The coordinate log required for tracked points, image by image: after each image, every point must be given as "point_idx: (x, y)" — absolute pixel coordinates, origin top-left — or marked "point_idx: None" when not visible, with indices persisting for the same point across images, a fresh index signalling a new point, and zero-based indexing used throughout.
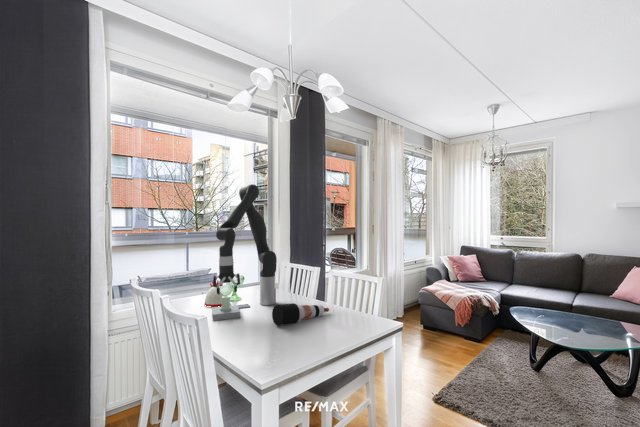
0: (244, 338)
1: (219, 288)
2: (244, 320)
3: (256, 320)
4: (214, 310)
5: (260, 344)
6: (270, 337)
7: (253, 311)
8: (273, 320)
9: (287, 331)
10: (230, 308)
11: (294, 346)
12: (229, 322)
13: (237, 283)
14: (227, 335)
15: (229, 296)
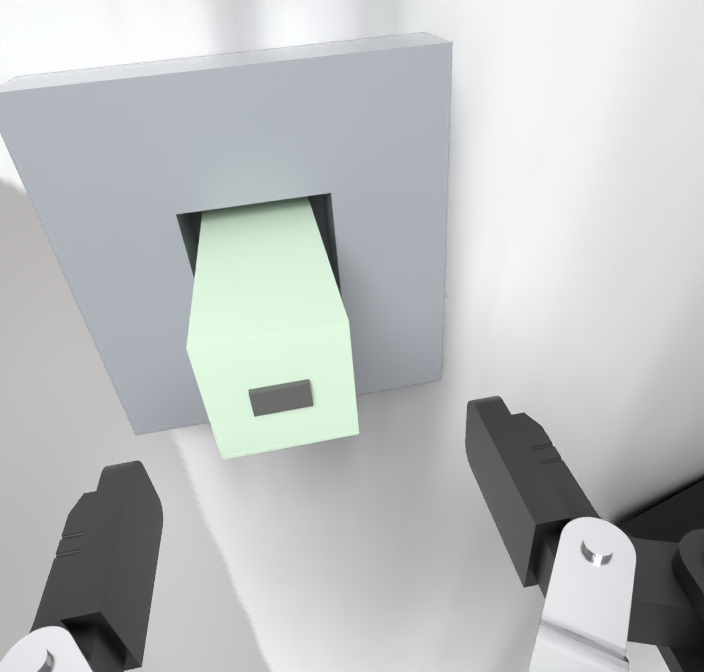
0: (405, 631)
1: (143, 651)
2: (449, 414)
3: (539, 422)
4: (101, 283)
5: (463, 663)
6: (526, 618)
7: (607, 153)
8: (627, 534)
9: None
10: (330, 193)
11: None
12: (320, 445)
13: (647, 625)
14: (317, 612)
15: (353, 398)
